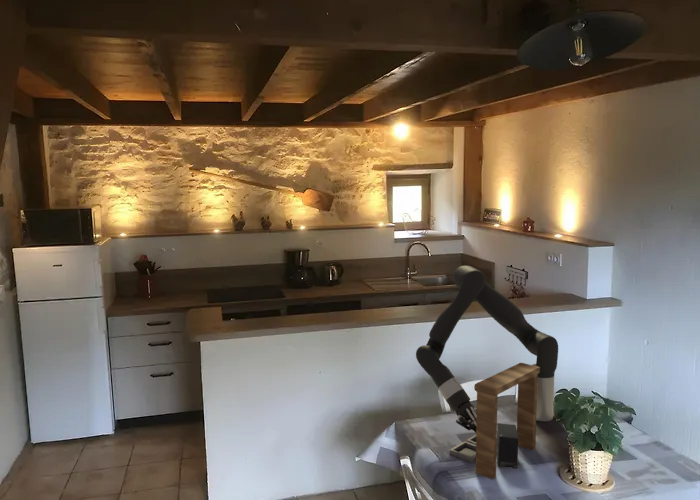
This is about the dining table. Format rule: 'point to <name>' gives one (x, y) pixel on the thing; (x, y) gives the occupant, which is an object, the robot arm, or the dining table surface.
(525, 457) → the dining table surface
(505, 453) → the small box
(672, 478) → the dining table surface
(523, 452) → the dining table surface
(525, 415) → the tunnel
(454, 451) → the tray
